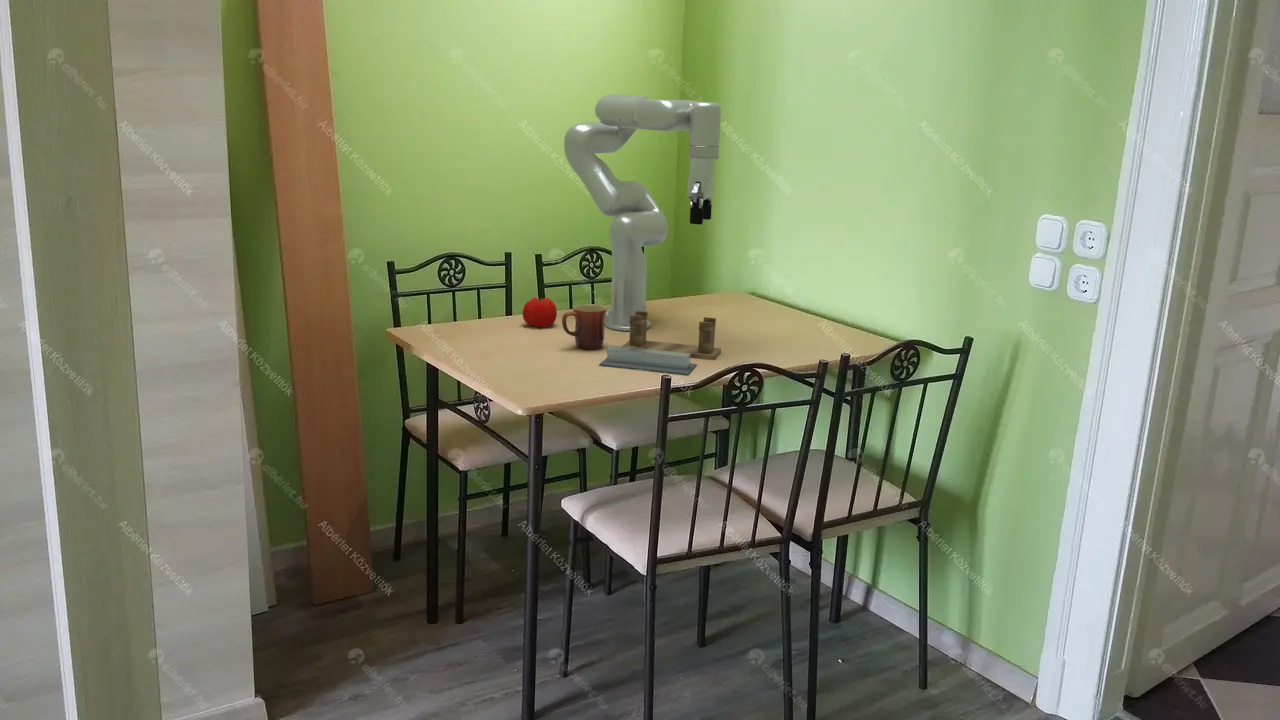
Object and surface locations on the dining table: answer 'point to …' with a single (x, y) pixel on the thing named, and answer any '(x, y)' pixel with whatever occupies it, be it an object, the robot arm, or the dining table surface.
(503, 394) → the dining table surface
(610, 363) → the mat
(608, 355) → the rail
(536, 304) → the tomato
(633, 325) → the rack
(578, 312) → the mug
